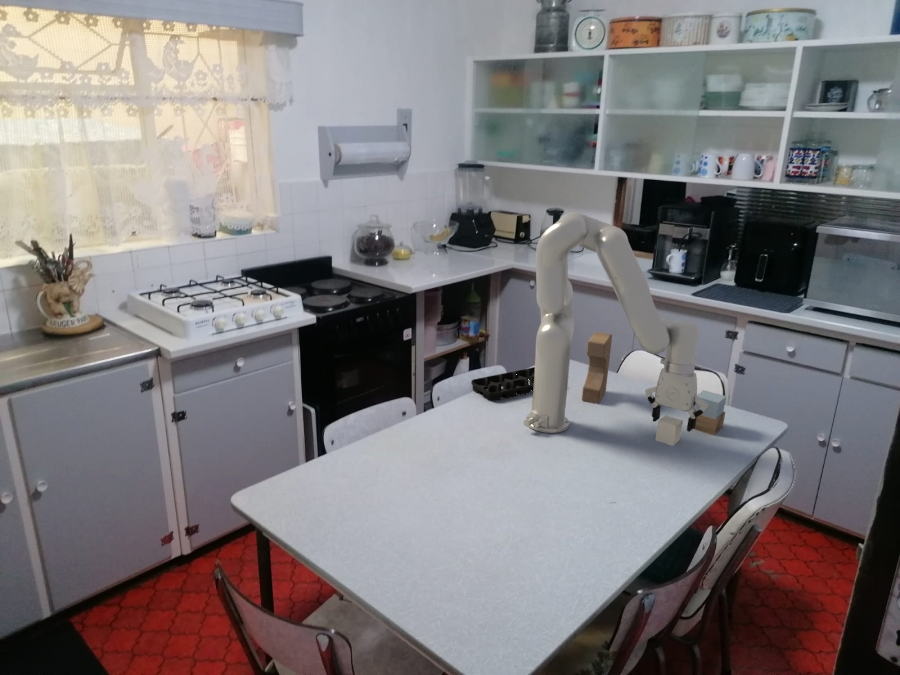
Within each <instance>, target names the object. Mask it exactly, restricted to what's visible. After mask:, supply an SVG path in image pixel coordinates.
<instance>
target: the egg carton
mask: <svg viewBox="0 0 900 675" xmlns="http://www.w3.org/2000/svg"><path fill="white" fill-rule="evenodd" d="M516 374H517V375H516ZM534 375H535V366H533V367H529V368H522V369H519V370H514V371H509V372H504V373H499V374H495V375H489V376H485V377H479V378H474V379H472V380H471V381H470V382H471V386H472V391H473V392H474V393H475V394H478V395H482V397H483V399H486V400H487V401H489V402H499V401H501V400H502V398H503V397H504V398H503V399H511V398H510V397H512V398H515V397H516V396H517V395H518V394H520V395H519V396H522V395H521V394H525V395H527V394H526V393H529V392H530V393H531V392H532V391H533V387H534ZM528 379H529V380H530V381H529V380H528ZM529 384H530V385H529ZM531 390H532V391H531ZM516 393H517V394H516ZM530 393H529V394H530ZM514 396H515V397H514Z"/></svg>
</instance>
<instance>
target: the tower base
mask: <svg viewBox="0 0 900 675" xmlns="http://www.w3.org/2000/svg"><path fill="white" fill-rule="evenodd" d="M725 415H726V411H723V413H722V414H721V415H720V416H718V417H717V418H716V419H714V418H710V417H707V416H704V415H700V416H698V417H697V418H696V426H695V428H694V429H693V430H695V431H698V432H702V433H704V434H708V435H712V436H715V435H716V434H717V433H719V431H721V429H723V428H724V427H723V426H724V422H725V417H726V416H725Z"/></svg>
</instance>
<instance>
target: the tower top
mask: <svg viewBox="0 0 900 675" xmlns="http://www.w3.org/2000/svg"><path fill="white" fill-rule="evenodd" d="M697 396H698V397H699V398H701V399H702V400H703V401H705V402H706V403H707V404H708V405H709V406H708V408H707V409H706V410H705V411H704V413H702V414H701V415H704V416H707V417H710V418H714V419H716V418H717V417H718V416H720V415H721V414H722V413H723V411H724V410H725V405H726V400H727V396H726V395H723V394H720V393H716V392H713V391H708V390H704V389H703V390H702V391H700V392H699V393H697ZM694 407H695V408H696V410H697V411H698V410H699V409H700V408H701V406H700V405H698V404H697V403H696V405H695V406H694ZM724 412H725V411H724Z"/></svg>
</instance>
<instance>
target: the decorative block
mask: <svg viewBox="0 0 900 675" xmlns="http://www.w3.org/2000/svg"><path fill="white" fill-rule="evenodd" d="M612 339H613V335H612V334H611V333H605V332H599V331H595V332H594V333H593V335H592V336H591V337H590V338H589V339H588V341H587V344H586V345H587V346H586V357H588V366H587V367H588V368H587V369H588V370H587V374H586V379H585V381H584V384H583V386H582V391H581V392H582V394H581V401H582V402H586V401H587V403H591V402H592V403H591V404H596V403H597V404H600V403H601V400H602V399H603V398H604V395H605V394H606V392H607V383H608V374H609V367H610V357H611V350H612ZM597 404H596V405H597Z"/></svg>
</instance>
